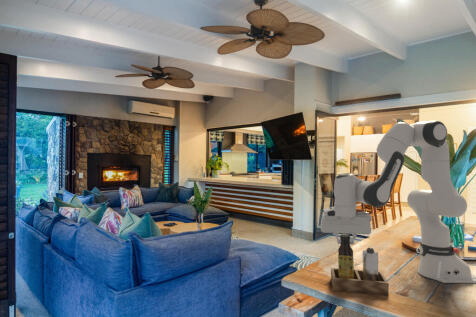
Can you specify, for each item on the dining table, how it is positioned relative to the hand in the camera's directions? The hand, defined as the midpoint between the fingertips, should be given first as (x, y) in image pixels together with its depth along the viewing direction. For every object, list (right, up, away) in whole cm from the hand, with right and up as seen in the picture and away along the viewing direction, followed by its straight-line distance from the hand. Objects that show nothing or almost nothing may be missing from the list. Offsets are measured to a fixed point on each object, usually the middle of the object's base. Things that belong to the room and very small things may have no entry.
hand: (345, 243), depth 126 cm
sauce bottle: (+1, -16, +1) cm, 16 cm away
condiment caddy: (+5, -18, -1) cm, 19 cm away
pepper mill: (+10, -18, -2) cm, 21 cm away
